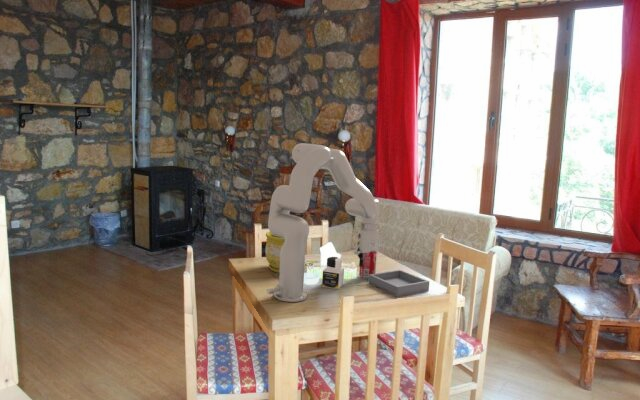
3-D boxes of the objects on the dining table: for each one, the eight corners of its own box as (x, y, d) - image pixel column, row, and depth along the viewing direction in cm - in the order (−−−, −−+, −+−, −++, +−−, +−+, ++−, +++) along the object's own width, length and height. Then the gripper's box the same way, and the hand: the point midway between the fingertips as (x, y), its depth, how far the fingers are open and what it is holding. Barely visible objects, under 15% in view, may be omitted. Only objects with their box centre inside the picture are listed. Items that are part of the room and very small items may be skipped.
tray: (396, 296, 206) (397, 287, 205) (368, 283, 221) (368, 274, 220) (428, 290, 216) (429, 281, 216) (399, 278, 231) (399, 269, 230)
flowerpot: (297, 277, 223) (299, 240, 220) (258, 272, 227) (259, 236, 225) (308, 266, 240) (310, 232, 237) (272, 261, 244) (274, 228, 242)
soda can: (375, 280, 225) (377, 252, 223) (358, 279, 225) (361, 250, 223) (374, 276, 232) (377, 248, 230) (358, 274, 232) (360, 246, 230)
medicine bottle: (321, 286, 213) (323, 258, 211) (327, 282, 219) (329, 254, 217) (338, 289, 210) (340, 261, 208) (343, 284, 217) (345, 257, 215)
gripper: (359, 229, 217) (355, 271, 220) (388, 227, 226) (384, 267, 229) (348, 225, 223) (345, 266, 226) (377, 224, 232) (373, 263, 235)
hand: (365, 266), depth 227 cm, fingers open, 3 cm apart
